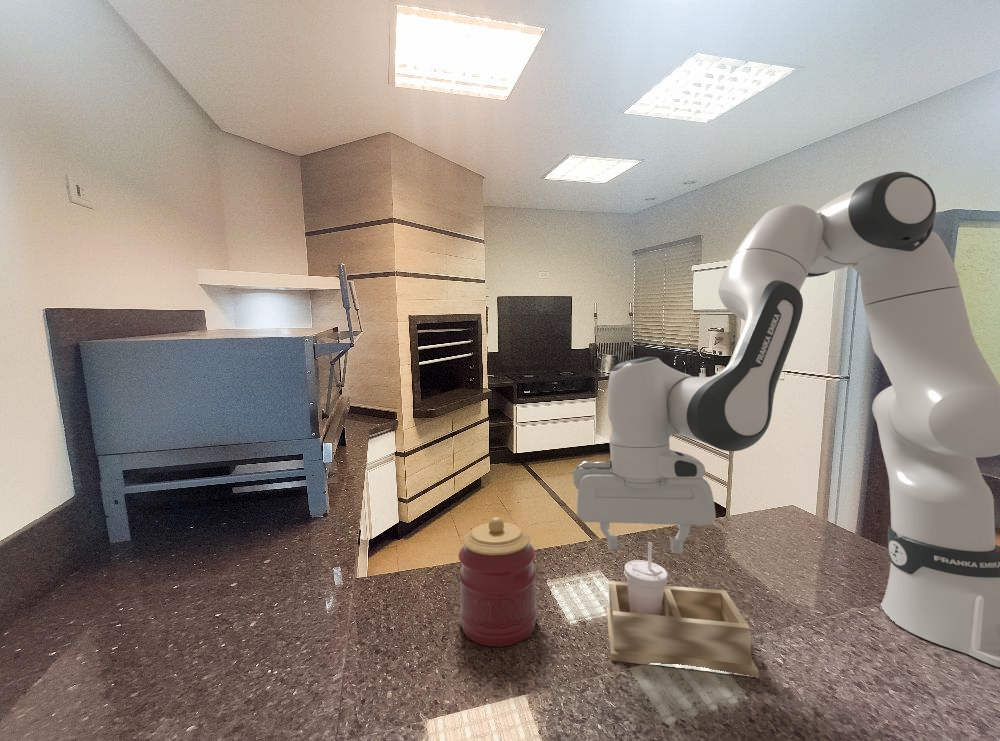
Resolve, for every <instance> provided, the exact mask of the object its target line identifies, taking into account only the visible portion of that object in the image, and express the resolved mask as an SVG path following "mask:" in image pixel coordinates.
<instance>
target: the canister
mask: <svg viewBox="0 0 1000 741" xmlns="http://www.w3.org/2000/svg"><path fill="white" fill-rule="evenodd" d="M462 542H463V546H461V548H460V550H459V551H458V555H457V556H458V561H459V562H460V564H461V568H460V569H459V572H458V579H459V584H460V585H459V586H460V587H459V590H460V591H459V592H460V593H459V595H460V608H459V620H460V623H461V628H462V631H463V633H464V635H465V636H466V637H467V638H468V639H469V640H471V641H473V642H475V643H477V644H480V645H483V646H487V647H496V648H497V647H498V648H499V647H507V646H512V645H514V644H515V645H516V644H518V643H520V642H523V641H524V640H525V639H527V638H528V637H529V636H531V634H532V633H533V632H534V630H535V627H536V623H537V617H538V607H537V603H536V602H537V599H536V597H537V596H536V576H537V570H536V568H535V566H534V564H533V562H534V560H535V558H536V553H537V552H536V549H535V547H534V546H533V545H532V544H531V543H530V542H531V537H530V534H529V533H528V532H527V531H526V530H524V529H522V528H521V527H519V526H518V525H516V524H513V523H511V522H510V523H509V522H504V520H503V518H501V517H499V516H494V517H491V518H490V520H489V521H488V522H486V523H482V524H479V525H477V526H475V527H474V528H473V529H472V530H470V531H469V532H467V533H466V534H465V535H464V537H463V538H462Z"/></svg>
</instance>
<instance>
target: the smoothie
mask: <svg viewBox="0 0 1000 741" xmlns="http://www.w3.org/2000/svg"><path fill="white" fill-rule="evenodd" d="M647 545H648V546H647V560H643V559H642V560H641V559H634V560H629V561H627V562H626V563H625V565H624V570H623V574H624V577H625V578H626V582H627V586H628V595H629V605H630V613H640V614H650V615H660V613H661V607H662V600H663V594H664V588H665V586H667V584H668V582H669V581H668V580H669V579H668V575H669V574H668V572H667V570H666V569H665V568H664V567H663V566H661V565H659V564H658V563H655V562H652V561H653V560H652V559H653V558H652V557H653V556H652V555H653V554H652V553H653V542H650V541H648V543H647Z"/></svg>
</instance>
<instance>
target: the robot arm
mask: <svg viewBox="0 0 1000 741" xmlns="http://www.w3.org/2000/svg"><path fill="white" fill-rule="evenodd" d="M935 195H936V194H935V192H934V191H933V188H932V187H931V185H930V184H929V183H928V182H927V181H926V180H924V179H923V178H921V177H919V176H917V175H915V174H913V173H910V172H907V171H895V172H894V171H893V172H889V173H885V174H882V175H879V176H876V177H873V178H871V179H869V180H867V181H864V182H862V183H861V184H860V185H859V186H857V187H856V188H854V189H852V190H849V191H847V192H845V193H843V194H841V195H839V196H837V197H835V198H834V199H832V200H830V201H828V202H827V203H825V204H824V205H822V206H821V207H820V208H818V209H817V210H814V209H812V208H810V207H808V206H805V205H802V204H793V203H792V204H789V203H788V204H783V205H780V206H776V207H774V208H772V209H771V210H769V211H767V212H766V213H764V214H763V216H762V217H761V218H760V219H758V221H756V223H755V224H754V226H753V227H752V228H751V229H750V230H749V231H748V233H747V234H746V236H745V237H744V238H743V240H742V241H741V243H740V244H739V246H738V247H737V248H736V250H735V252H734V254H733V255H732V257H731V259H730V261H729V262H728V263H727V264H728V265H727V266H726V268H725V269H724V272H723V274H722V277H721V279H720V282H719V287H718V289H717V290H718V295H719V298H720V301H721V303H722V304H723V306H724V307H725V309H727V310H728V311H729V312H730V313H732V314H733V315H735V316H736V317H738V318H740V319H741V320H743V321H745V322H744V326H743V328H742V331H741V333H740V335H739V338H738V340H737V343H736V345H735V348H734V350H733V352H732V355H731V357H730V359H729V362H728V364H727V365H726V367H724V368H723V369H722V370H721V371H719V372H717V373H716V374H714V375H712V376H693V375H691V374H687V373H684V372H681V371H679V370H677V369H675V368H673V367H670V366H669V365H667V364H665V363H664V362H663V361H662V360H661V359H660V358H659V357H656V356H645V357H640V358H634V359H629V360H625V361H622V362H620V363H619V362H618V363H617V364H616V365H615V366H614V367H613V368H611V369H610V373H609V375H608V376H609V377H608V386H607V410H608V411H607V412H608V413H607V414H608V418H609V421H610V425H611V426H610V427H611V434H610V435H609V436H610V437H609V451H610V452H609V453H610V454H609V455H610V460H609V461H608V460H607V461H605V460H604V461H603V460H601V461H600V460H599V461H581V463H580V464H577V465H576V466H575V467H574V469H573V472H572V478H573V480H572V482H573V485H574V487H575V488H576V489H577V496H576V515H577V518H578V519H579V520H580V521H581V522H582V523H583V522H584V523H599V527H600V530H601V533H602V534H603V535H604V537H605V538H606V540H607V549H608V551H619V540H618V536H617V535H614V534H613V535H612V534H611V532H610V523H613V524H614V523H615V524H644V525H646V524H647V525H674V526H675V525H676V526H677V528H678V532H677V533H676V535H675V537H669V542H670V543H669V544H670V546H669V547H670V551H671V553H672V554H684V545H683V544H684V542H685V541H686V539H687V537H688V536H689V534H690V533H691V526H707V527H708V526H712V524H713V523H714V521H715V520H716V516H717V515H716V508H715V507H716V506H715V500H714V496H713V492H712V488H711V486H710V484H709V483H708V481H707V480H706V479H705V478H704V477H705V474H706V467H705V465H704V463H702V462H701V461H700V460H699V459H697V458H696V457H695V456H693V455H691V454H690V455H689V454H687V453H683V452H680V451H677V450H673V449H670V448H671V447H670V438H671V436H672V435H679V436H682V437H686V438H688V439H691V440H695V441H699V442H702V443H704V444H707V445H709V446H711V447H714V448H716V449H718V450H721V451H725V452H739V451H743V450H746V449H748V448H750V447H752V446H753V445H755V444H756V443H757V442H759V440H761V439H762V438H763V436H764V435H765V433H766V432H767V430H768V428H769V427H770V426H769V425H770V423H771V420H772V413H773V405H774V396H775V392H776V388H777V386H778V382H779V379H780V376H781V373H782V371H783V368H784V366H785V363H786V360H787V359H788V358H787V357H788V355H789V353H790V349H791V347H792V345H793V341H794V339H795V336H796V334H797V330H798V327H799V324H800V322H801V319H802V313H803V308H804V299H803V296H802V294H801V292H800V291H801V289H802V287H803V285H804V283H805V280H806V279H807V278H813V277H820V276H824V275H827V274H829V273H830V272H834V271H838V270H841V269H844V268H847V267H851V268H853V269H854V271H856V273H857V274H858V275H859V277H860V289H861V297H862V303H863V306H864V307H863V308H864V312H865V315H866V317H865V318H866V321H867V326H868V330H869V331H868V332H869V335H870V340H871V344H872V349H873V352H874V354H875V356H877V357H878V359H879V361H880V362H881V364H882V365H883V368H884V370H885V372H886V374H887V376H888V378H889V381H890V383H891V385H890V386H888V387H885V389H883V390H881V391H880V392H879V393H878V394H876V396H875V398H874V400H873V402H872V404H871V405H872V406H871V410H872V414H873V417H874V419H875V422H876V425H877V430H878V437H879V441H880V442H879V443H880V448H881V450H882V454H883V459H884V463H885V467H886V472H887V476H888V486H889V502H890V525H889V526H888V527H887V549H888V557H889V562H890V565H889V575H888V580H887V586H886V589H885V594H884V597H883V598H882V601H881V602H880V605H881V607H882V609H883V610H884V612H885V613H886V614H887V615H888V616H889V617H890V619H891V620H892V621H891V620H890V619H889V620H890V621H891V622H893V621H894V622H895V623H894V622H893V623H894V624H895V625H897V626H899V627H901V628H902V629H904V630H905V631H907V632H909V633H911V634H913V635H915V636H918V637H920V638H922V639H924V640H926V641H929V642H931V643H933V644H937V645H939V646H942V647H945V648H949V649H951V650H954V651H957V652H960V653H962V654H963V653H964V654H966V655H969V656H971V657H973V658H976V659H977V660H980V661H982V662H984V663H987V664H989V665H991V666H994V667H997V668H1000V545H998V544H996V530H995V529H996V526H995V523H996V522H995V504H994V503H995V499H994V495H993V493H992V490H991V488H990V487H989V485H988V484H987V482H986V481H985V479H984V477H983V474H982V472H981V470H980V468H979V465H978V461H977V459H976V458H990V457H996V456H999V455H1000V384H999V381H998V380H997V378H996V376H995V375H994V372H993V370H992V369H991V367H990V366H989V364H988V362H987V360H986V359H985V357H984V356H983V353H982V352H981V350H980V348H979V346H978V344H977V341H976V340H975V337H974V335H973V331H972V328H971V323H970V320H969V317H968V315H969V314H968V313H967V307H966V303H965V300H964V295H963V291H962V287H961V283H960V279H959V275H958V272H957V270H956V267H955V264H954V262H953V259H952V258H951V257H952V256H951V255H950V253H949V251H948V249H947V247H946V245H945V243H944V241H942V239H941V238H942V237H940V236H939V234H938V233H937V232H935V231H933V229H934V223H935V218H936V213H937V200H936V196H935ZM580 467H581V468H580ZM881 607H880V608H881Z"/></svg>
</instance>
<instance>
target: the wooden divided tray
mask: <svg viewBox="0 0 1000 741" xmlns="http://www.w3.org/2000/svg"><path fill="white" fill-rule="evenodd" d="M608 593H609V594H608V595H609V599H608V600H609V603H608V604H609V606H606V610H605V612H606V622H607V630H608V644H609V652H610V660H611V661H613V662H621V663H628V664H629V663H630V664H638V665H644V664H650V663H661V664H679V665H680V664H681V665H688V666H689V665H690V666H696V667H703V668H704V667H705V668H709V669H712V670H713V669H714V670H718V671H719V670H720V671H724V672H725V671H726V672H730V673H731V672H732V673H739V674H743V675H749V676H754V677H759V678H760V671H759V669H758V667H757V665H756V663H755V662H754V660H753V659H752V637H751V636H752V635H751V628H750V626H749V623H748V622H747V621H746V620H745V617H743V615H742V614H741V612H740V610H739V609H738V607H737V605H736V604H735V602H734V601H733V600H732V597H731V596H730V595H729V593H728V592H727V590H726V589H725V590H723V589H713V588H712V589H710V588H698V587H687V586H676V585H675V586H674V585H665V588H664V594H663V600H662V607H661V613H660V615H650V614H640V613H630V605H629V595H628V586H627V581H624V582H623V581H617V580H616V581H613V580H608Z"/></svg>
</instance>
